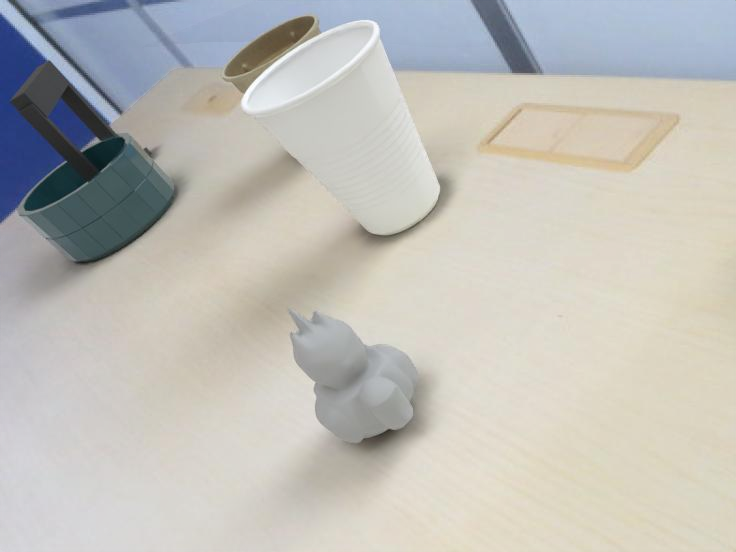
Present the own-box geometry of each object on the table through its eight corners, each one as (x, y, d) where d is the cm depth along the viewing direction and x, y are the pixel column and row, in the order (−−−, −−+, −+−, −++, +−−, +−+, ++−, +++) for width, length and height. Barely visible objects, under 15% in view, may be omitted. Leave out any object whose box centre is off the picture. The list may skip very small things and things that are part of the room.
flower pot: (351, 157, 64) (284, 59, 58) (271, 178, 68) (200, 88, 61) (392, 97, 69) (334, 1, 63) (315, 120, 73) (254, 32, 67)
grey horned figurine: (397, 366, 42) (307, 257, 36) (463, 404, 38) (373, 287, 32) (327, 435, 41) (221, 332, 35) (388, 482, 37) (279, 373, 31)
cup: (401, 168, 59) (312, 28, 51) (491, 166, 53) (407, 9, 45) (321, 253, 55) (211, 116, 47) (410, 261, 49) (302, 107, 41)
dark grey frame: (117, 174, 87) (23, 74, 79) (153, 151, 87) (64, 50, 79) (95, 240, 72) (-22, 127, 64) (139, 214, 72) (28, 97, 64)
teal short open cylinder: (50, 274, 74) (-7, 225, 70) (121, 197, 81) (73, 148, 76) (131, 255, 69) (75, 201, 65) (199, 174, 76) (153, 121, 71)
